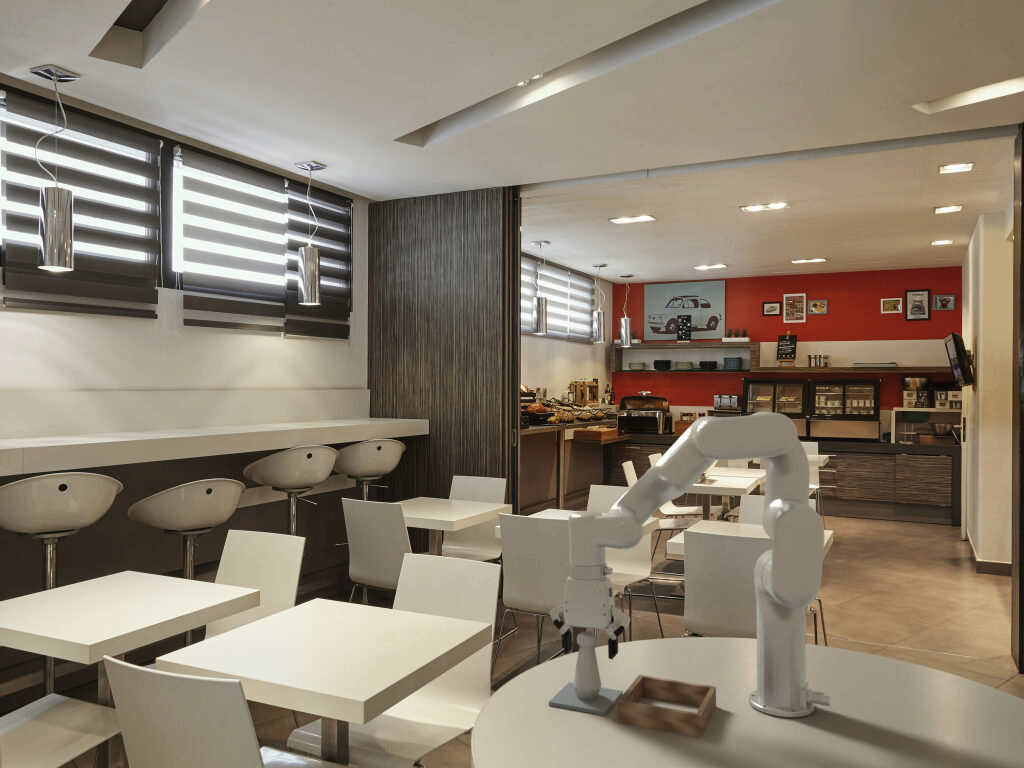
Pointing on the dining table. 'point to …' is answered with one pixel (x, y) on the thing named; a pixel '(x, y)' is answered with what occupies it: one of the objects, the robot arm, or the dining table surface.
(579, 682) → the salt shaker
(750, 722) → the dining table surface
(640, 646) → the dining table surface
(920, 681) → the dining table surface
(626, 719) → the bin
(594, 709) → the mat
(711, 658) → the dining table surface
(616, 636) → the robot arm
